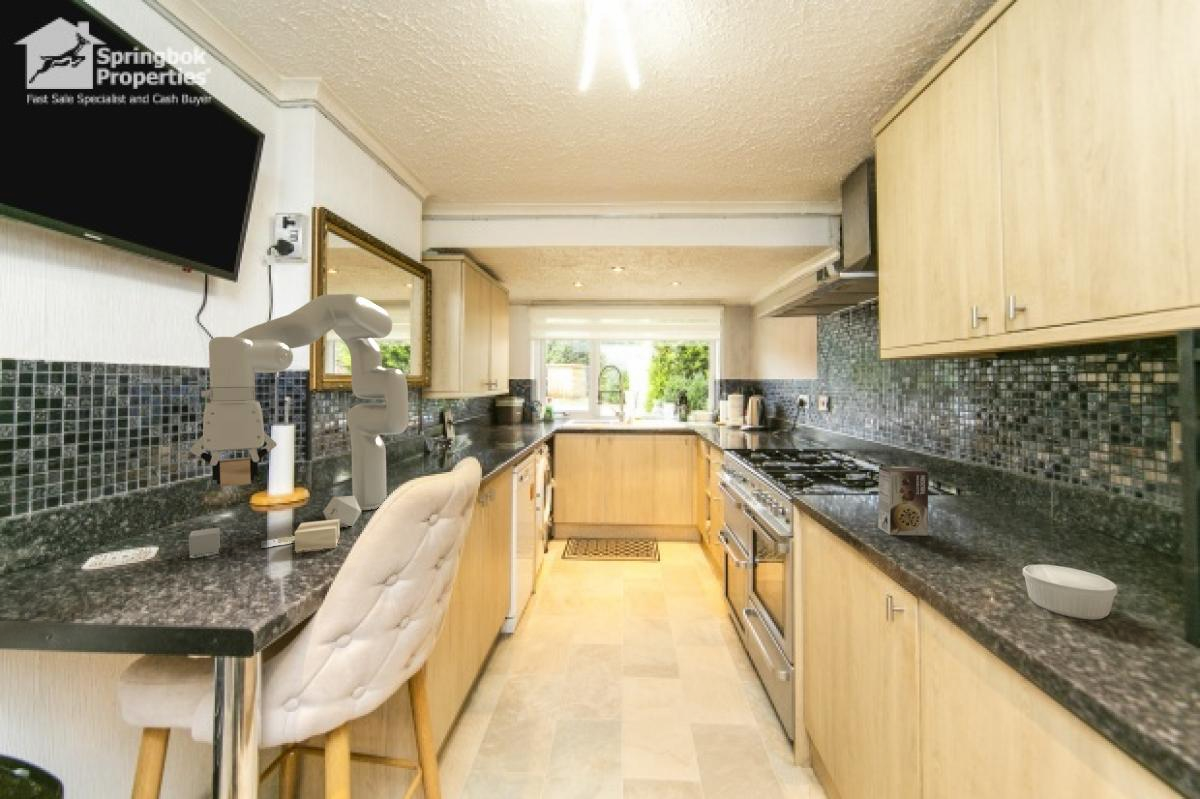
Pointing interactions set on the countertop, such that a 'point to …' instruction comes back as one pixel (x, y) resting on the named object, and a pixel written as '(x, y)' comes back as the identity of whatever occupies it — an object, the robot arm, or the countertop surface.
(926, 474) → the cookie box
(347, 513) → the die
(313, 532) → the birch base block
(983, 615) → the countertop surface
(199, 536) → the slate block
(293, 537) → the card
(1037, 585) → the ramekin
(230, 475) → the walnut block
